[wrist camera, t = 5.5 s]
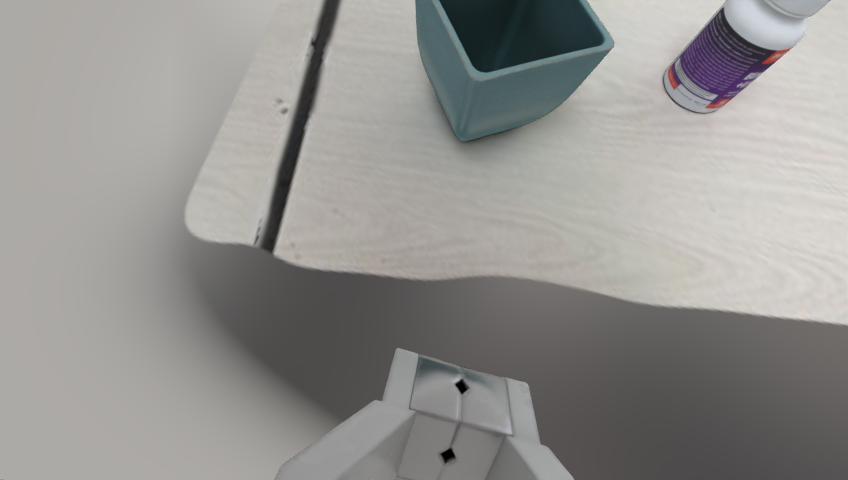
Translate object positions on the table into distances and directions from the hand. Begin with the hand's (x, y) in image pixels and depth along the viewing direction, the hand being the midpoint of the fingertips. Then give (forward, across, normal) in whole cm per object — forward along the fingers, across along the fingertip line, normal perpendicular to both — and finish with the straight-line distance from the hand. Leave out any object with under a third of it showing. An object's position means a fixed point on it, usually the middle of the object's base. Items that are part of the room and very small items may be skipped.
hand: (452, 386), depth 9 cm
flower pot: (+25, 0, -4) cm, 25 cm away
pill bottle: (+31, -17, -10) cm, 36 cm away
